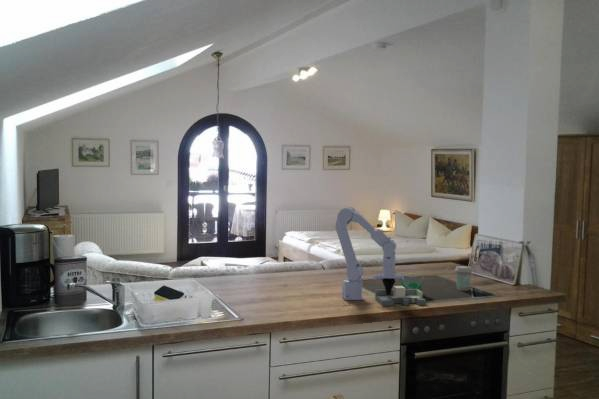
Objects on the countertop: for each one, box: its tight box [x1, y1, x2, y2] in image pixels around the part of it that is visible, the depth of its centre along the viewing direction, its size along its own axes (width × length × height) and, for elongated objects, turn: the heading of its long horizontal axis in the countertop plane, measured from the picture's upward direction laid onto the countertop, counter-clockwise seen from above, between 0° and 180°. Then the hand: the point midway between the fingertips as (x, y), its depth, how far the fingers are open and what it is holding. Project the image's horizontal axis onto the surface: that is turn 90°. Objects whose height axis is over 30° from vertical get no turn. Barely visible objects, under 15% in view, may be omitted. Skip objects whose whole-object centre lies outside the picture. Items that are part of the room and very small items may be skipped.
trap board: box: [374, 288, 427, 307], centre depth 264 cm, size 21×11×5 cm, turn 98°
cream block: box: [392, 285, 405, 298], centre depth 266 cm, size 4×4×4 cm
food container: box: [400, 274, 425, 292], centre depth 278 cm, size 12×6×10 cm, turn 101°
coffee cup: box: [454, 265, 473, 292], centre depth 294 cm, size 8×9×12 cm
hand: (388, 294), depth 265 cm, fingers closed
